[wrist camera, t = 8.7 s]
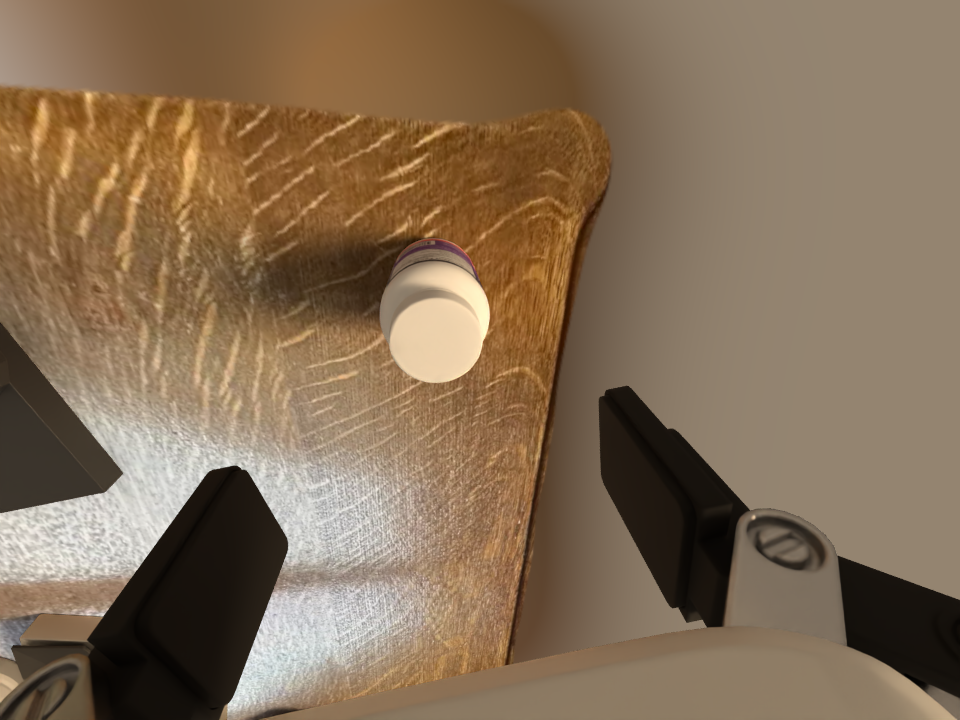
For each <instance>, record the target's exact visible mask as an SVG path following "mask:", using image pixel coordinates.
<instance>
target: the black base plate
mask: <svg viewBox="0 0 960 720" xmlns="http://www.w3.org/2000/svg"><path fill="white" fill-rule="evenodd" d="M122 474H123V472H122V471H121V470H120V468H119V467H118V466H117V465H116V464H115V462H114V461H113V460H112V459H111V457H110V456H109V455H108V454H107V453H106V451H105V450H104V449H103V448H102V446H101V445H100V444H99V443H98V442H97V440H96V439H95V438H94V437H93V435H92V434H91V433H90V432H89V431H88V429H87V428H86V427H85V426H84V424H83V423H82V422H81V421H80V419H79V418H78V417H77V416H76V415H75V413H74V412H73V411H72V410H71V408H70V407H69V406H68V405H67V404H66V402H65V401H64V400H63V399H62V397H61V396H60V395H59V394H58V393H57V391H56V390H55V389H54V388H53V386H52V385H51V384H50V383H49V381H48V380H47V379H46V378H45V377H44V375H43V374H42V373H41V372H40V370H39V369H38V368H37V367H36V366H35V364H34V363H33V362H32V361H31V359H30V358H29V357H28V356H27V355H26V353H25V352H24V351H23V350H22V348H21V347H20V346H19V345H18V344H17V342H16V341H15V340H14V339H13V337H12V336H11V335H10V334H9V332H8V331H7V330H6V329H5V328H4V326H3V325H2V324H1V323H0V513H4V512H9V511H14V510H19V509H24V508H29V507H34V506H39V505H44V504H49V503H54V502H59V501H64V500H69V499H74V498H79V497H84V496H89V495H94V494H99V493H104V492H106V491H107V490H108V489H109V488H110V487H111V486H112V485H113V484H114V483H115V482H116V481H117V479H118V478H119V477H120V476H121V475H122Z"/></svg>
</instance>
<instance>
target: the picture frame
mask: <svg viewBox="0 0 960 720" xmlns="http://www.w3.org/2000/svg"><path fill="white" fill-rule="evenodd" d="M102 618H103V617H94V616H75V615H56V614H40V615H39V616H38V617H37V618H36V620H35V621H34V622H33V623H32V624H31V625H30V627H29V628H28V629H27V630H26V631H25V632H24V634H23V635H22V636H21V637H20V638H19V639H20V642H21V645H13V646H12V648H11V650H12V652H13V655H14V658H15V660H16V663H17V665H18V668H19V671H20V673H21V676H22V679H23V680H25V679H26V678H28V677H29V676H30V675H32V674H33V673H34V672H36V671H37V670H38V669H40V668H42V667H43V666H45V665H47V664H49V663H50V662H52V661H54V660H56V659H59V658H61V657H64V656H66V655H70V654H78V653H80V654H82V655H85V656H87V657H88V655H89V654H90V652H91V651H92V650H93V648H94V646H93V645H92V644H91V643H89V642H88V641H87V639H88V637H89V636H90V634H91V633H92V632H93V630H94V629H95V628H96V626H97V625H98V623H99V622H100V621H101V619H102ZM220 720H227V705H225V706H224V709H223V712H222V714H221V717H220Z"/></svg>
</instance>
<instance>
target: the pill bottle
mask: <svg viewBox="0 0 960 720" xmlns="http://www.w3.org/2000/svg"><path fill="white" fill-rule="evenodd" d="M489 319H490V312H489V305H488V300H487V297H486V295H485V292H484V290H483V288H482V285H481V283H480V280H479V278H478V275H477V273H476V270H475V267H474V265H473V263H472V261H471V259H470V258H469V256H468V255H467V254H466V253H465V252H464V251H463V250H462V249H461V248H460V247H459V246H457V245H456V244H454V243H452V242H450V241H447V240H444V239H438V238H428V239H422V240H419V241H416V242H414V243H412V244H411V245H409V246H408V247H406V248H405V249H404V250H403V251H402V252H401V254H400V255H399V256H398V258H397V259H396V261H395V263H394V266H393V269H392V271H391V274H390V277H389V280H388V282H387V285H386V288H385V291H384V293H383V297H382V300H381V305H380V324H381V329H382V332H383V334H384V337H385V339H386V340H387V342H388V343H389V348H390V352H391V354H392V357H393V359H394V361H395V362H396V364H397V365H398V366H399V367H400V369H402V370H403V371H404V372H405V373H406V374H408V375H409V376H411V377H413V378H415V379H417V380H420V381H423V382H429V383H442V382H447V381H451V380H454V379H456V378H458V377H460V376H462V375H463V374H465V373H466V372H467V371H469V370H470V369H471V367H472V366H473V365H474V364H475V362H476V361H477V359H478V357H479V355H480V352H481V349H482V342H483V340H484V338H485V336H486V333H487V330H488V326H489Z"/></svg>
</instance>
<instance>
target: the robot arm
mask: <svg viewBox="0 0 960 720" xmlns="http://www.w3.org/2000/svg"><path fill="white" fill-rule="evenodd" d="M599 427H600V460H601V476H602V480H603V483H604V485H605V487H606V489H607V491H608V493H609V495H610V497H611V499H612V500H613V502H614V504H615V506H616V508H617V510H618V512H619V513H620V515H621V517H622V519H623V521H624V523H625V525H626V527H627V528H628V530H629V532H630V534H631V536H632V538H633V540H634V542H635V543H636V545H637V547H638V549H639V551H640V553H641V555H642V556H643V558H644V560H645V562H646V564H647V566H648V568H649V569H650V571H651V573H652V575H653V577H654V579H655V580H656V583H657V584H658V586H659V588H660V590H661V592H662V594H663V595H664V597H665V599H666V601H667V603H668V604H669V606H670V607H672V608H676V607H678V608H679V610H680V612H681V613H682V615H683V617H684V619H685V621H686V622H687V623H688V622H692V621H697V620H703V621H704V623H705V625H706V626H707V628H701V629H694V630H686V631H680V632H671V633H665V634H660V635H654V636H650V637H644V638H639V639H634V640H629V641H624V642H618V643H613V644H608V645H603V646H598V647H592V648H587V649H582V650H577V651H573V652H568V653H563V654H559V655H554V656H549V657H544V658H540V659H535V660H530V661H525V662H521V663H516V664H511V665H506V666H502V667H497V668H492V669H488V670H483V671H478V672H473V673H469V674H464V675H459V676H455V677H450V678H446V679H441V680H436V681H432V682H427V683H423V684H418V685H413V686H409V687H404V688H400V689H395V690H390V691H386V692H381V693H377V694H372V695H367V696H363V697H358V698H354V699H349V700H345V701H340V702H335V703H331V704H326V705H322V706H317V707H313V708H308V709H304V710H299V711H295V712H290V713H286V714H281V715H277V716H272V717H268V718H263V719H259V720H960V600H958V599H955V598H952V597H950V596H947V595H944V594H941V593H939V592H936V591H933V590H930V589H928V588H925V587H922V586H920V585H916V584H914V583H911V582H909V581H906V580H903V579H900V578H898V577H894V576H892V575H889V574H887V573H884V572H881V571H878V570H876V569H873V568H870V567H867V566H865V565H862V564H859V563H856V562H854V561H851V560H848V559H845V558H843V557H840V556H837V554H836V551H835V548H834V546H833V545H832V543H831V542H830V540H829V539H828V538H827V536H826V535H825V534H824V533H822V532H821V531H820V530H819V529H818V528H816V527H815V526H814V525H813V524H811V523H809V522H808V521H806V520H804V519H802V518H801V517H799V516H796V515H793V514H791V513H788V512H785V511H781V510H776V509H771V508H767V509H755V510H751V511H750V510H749V509H748V507H747V506H746V505H745V504H744V503H743V502H742V501H741V500H740V499H739V498H738V497H737V495H736V494H735V493H734V492H733V491H732V490H731V489H730V488H729V487H728V486H727V484H726V483H725V482H724V481H723V480H722V479H721V478H720V477H719V476H718V475H717V474H716V473H715V471H714V470H713V469H712V468H711V467H710V466H709V465H708V464H707V463H706V462H705V461H704V459H703V458H702V457H701V456H700V455H699V454H698V453H697V452H696V451H695V450H694V449H693V447H692V446H691V445H690V444H689V443H688V442H687V441H686V440H685V439H684V438H683V437H682V436H681V435H680V433H678V432H677V431H676V430H674V429H667V428H666V427H665V426H664V425H663V424H662V423H661V422H660V421H659V419H658V418H657V417H656V416H655V415H654V414H653V413H652V412H651V410H650V409H649V408H648V407H647V406H646V405H645V403H644V402H643V401H642V400H641V399H640V398H639V397H638V396H637V395H636V393H635V392H634V391H633V390H632V389H631V388H630V387H629V386H623V387H618V388H613V389H609V390H606V392H605V396H602V397H600V398H599ZM287 551H288V540H287V537H286V536H285V534H284V532H283V530H282V529H281V527H280V525H279V524H278V522H277V520H276V519H275V517H274V515H273V514H272V512H271V510H270V508H269V507H268V505H267V503H266V502H265V500H264V498H263V497H262V495H261V493H260V492H259V490H258V488H257V486H256V485H255V483H254V481H253V480H252V478H251V476H250V475H249V473H248V472H247V471H246V470H241V468H240V467H238V466H230V467H225V468H220V469H215V470H212V471H209V472H208V473H207V475H206V476H205V477H204V479H203V480H202V481H201V483H200V484H199V486H198V487H197V488H196V490H195V491H194V492H193V494H192V495H191V497H190V498H189V499H188V501H187V502H186V503H185V505H184V506H183V508H182V509H181V510H180V512H179V513H178V515H177V516H176V517H175V519H174V520H173V521H172V523H171V524H170V526H169V527H168V528H167V530H166V531H165V532H164V534H163V535H162V537H161V538H160V539H159V541H158V542H157V543H156V545H155V546H154V548H153V549H152V550H151V552H150V553H149V554H148V556H147V557H146V559H145V560H144V561H143V563H142V564H141V565H140V567H139V568H138V570H137V571H136V572H135V574H134V575H133V577H132V578H131V579H130V581H129V582H128V583H127V585H126V586H125V588H124V589H123V590H122V592H121V593H120V594H119V596H118V597H117V599H116V600H115V601H114V603H113V604H112V605H111V607H110V608H109V610H108V611H107V612H106V614H105V615H104V616H103V618H102V619H101V621H100V622H99V623H98V625H97V626H96V628H95V629H94V630H93V632H92V633H91V634H90V636H89V637H88V639H87V641H88V642H89V643H91V644H92V645H93V646H94V648H93V650H92V651H91V652H90V654H89V655H88V657H87V656H85V655H82V654H80V653H78V654H70V655H66V656H64V657H61V658H59V659H56V660H54V661H52V662H50V663H49V664H47V665H45V666H43V667H42V668H40V669H38V670H37V671H36V672H34V673H33V674H32V675H30V676H29V677H28V678H26V679H25V680H24V681H22V682H21V683H20V684H19V685H18V686H17V687H16V688H15V689H14V690H13V691H11V692H10V693H9V694H8V695H7V696H6V697H5V698H4V699H3V700H2V702H1V703H0V720H220V717H221V714H222V712H223V709H224V706H225V705H227V704H228V703H229V702H230V701H231V699H232V698H233V696H234V693H235V691H236V688H237V686H238V683H239V680H240V678H241V675H242V672H243V669H244V667H245V664H246V661H247V659H248V656H249V653H250V651H251V648H252V645H253V643H254V640H255V637H256V635H257V632H258V629H259V627H260V624H261V621H262V619H263V616H264V613H265V610H266V608H267V605H268V602H269V600H270V597H271V594H272V592H273V589H274V586H275V584H276V581H277V578H278V576H279V573H280V570H281V568H282V565H283V562H284V559H285V557H286V554H287Z"/></svg>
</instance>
